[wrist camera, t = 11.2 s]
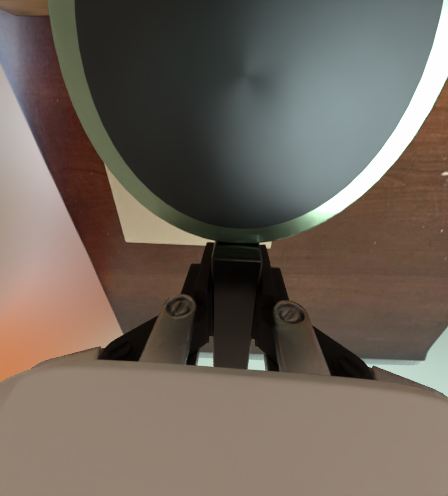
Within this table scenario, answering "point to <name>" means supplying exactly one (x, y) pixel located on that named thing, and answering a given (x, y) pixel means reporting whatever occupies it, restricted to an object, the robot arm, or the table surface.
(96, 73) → the pan
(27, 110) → the table surface
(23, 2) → the block
